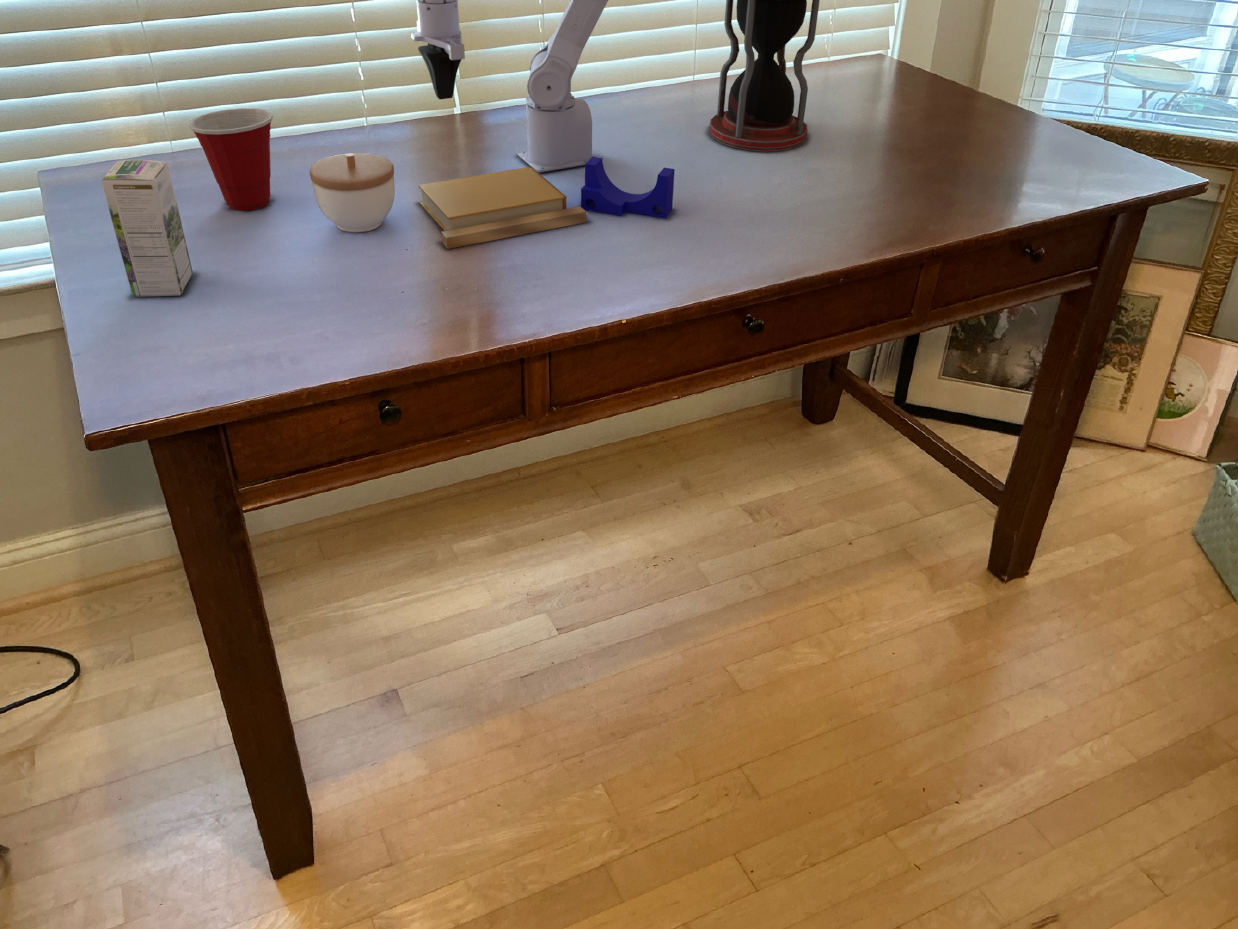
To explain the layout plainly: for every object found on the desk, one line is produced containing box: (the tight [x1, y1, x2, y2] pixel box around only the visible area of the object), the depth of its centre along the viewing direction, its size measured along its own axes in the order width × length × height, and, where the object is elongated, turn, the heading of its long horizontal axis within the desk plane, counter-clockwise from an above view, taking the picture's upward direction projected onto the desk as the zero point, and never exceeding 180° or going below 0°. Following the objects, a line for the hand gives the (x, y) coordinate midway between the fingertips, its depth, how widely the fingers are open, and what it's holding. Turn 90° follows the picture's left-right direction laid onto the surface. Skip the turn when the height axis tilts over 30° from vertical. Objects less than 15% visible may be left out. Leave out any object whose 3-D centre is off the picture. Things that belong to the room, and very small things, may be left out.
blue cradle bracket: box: [580, 156, 675, 219], centre depth 142 cm, size 12×4×6 cm, turn 71°
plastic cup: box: [187, 107, 274, 212], centre depth 139 cm, size 11×11×12 cm
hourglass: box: [709, 0, 820, 152], centre depth 162 cm, size 16×16×25 cm
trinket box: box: [309, 152, 396, 233], centre depth 135 cm, size 11×11×9 cm
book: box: [418, 166, 567, 232], centre depth 142 cm, size 17×12×3 cm
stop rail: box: [441, 205, 587, 250], centre depth 137 cm, size 20×2×2 cm, turn 118°
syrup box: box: [100, 159, 194, 297], centre depth 118 cm, size 6×6×14 cm
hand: (444, 97), depth 152 cm, fingers closed
